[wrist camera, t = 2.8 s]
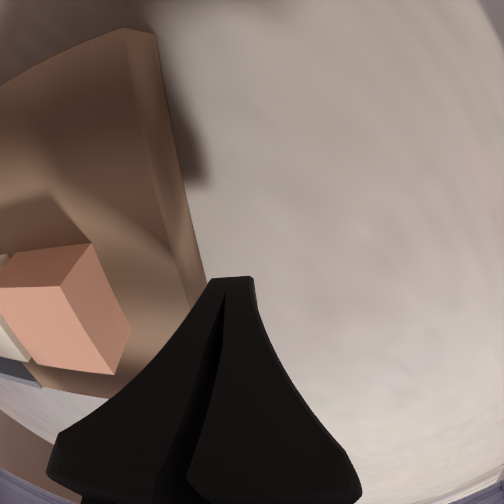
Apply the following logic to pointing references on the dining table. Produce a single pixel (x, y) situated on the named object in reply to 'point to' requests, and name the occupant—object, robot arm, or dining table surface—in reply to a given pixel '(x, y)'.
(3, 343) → the cream tile
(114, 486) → the robot arm
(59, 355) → the terracotta tile
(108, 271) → the tan slab
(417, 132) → the dining table surface
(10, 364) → the box
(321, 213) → the dining table surface
